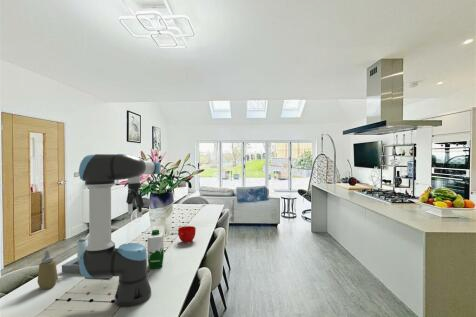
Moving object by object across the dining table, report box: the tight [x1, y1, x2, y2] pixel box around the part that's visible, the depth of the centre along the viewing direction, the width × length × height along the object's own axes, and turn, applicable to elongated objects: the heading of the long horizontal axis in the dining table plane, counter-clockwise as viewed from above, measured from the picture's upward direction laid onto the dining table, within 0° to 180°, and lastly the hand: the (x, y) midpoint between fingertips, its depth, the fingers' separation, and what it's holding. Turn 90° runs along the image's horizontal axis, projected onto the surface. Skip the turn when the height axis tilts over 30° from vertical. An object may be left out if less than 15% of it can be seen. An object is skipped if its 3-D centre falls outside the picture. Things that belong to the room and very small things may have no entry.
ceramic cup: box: [177, 225, 197, 244], centre depth 187 cm, size 13×17×10 cm
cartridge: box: [76, 237, 89, 264], centre depth 145 cm, size 5×5×17 cm
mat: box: [84, 276, 114, 280], centre depth 139 cm, size 14×14×1 cm
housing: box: [61, 257, 81, 274], centre depth 151 cm, size 24×16×4 cm, turn 173°
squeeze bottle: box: [37, 249, 59, 290], centre depth 124 cm, size 8×8×18 cm
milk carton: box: [147, 229, 165, 270], centre depth 147 cm, size 9×9×20 cm
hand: (134, 215), depth 162 cm, fingers open, 13 cm apart
